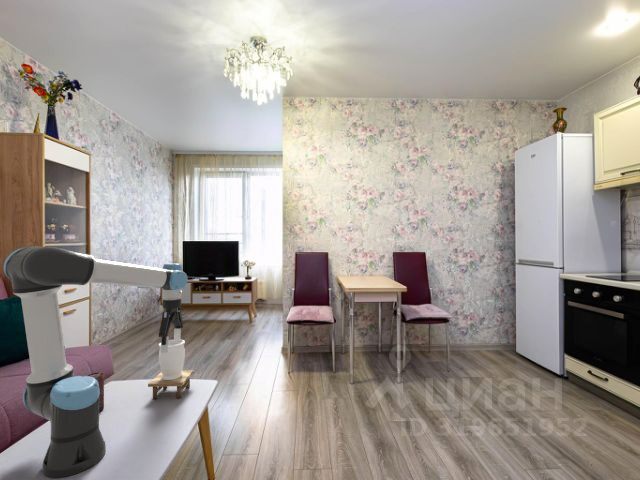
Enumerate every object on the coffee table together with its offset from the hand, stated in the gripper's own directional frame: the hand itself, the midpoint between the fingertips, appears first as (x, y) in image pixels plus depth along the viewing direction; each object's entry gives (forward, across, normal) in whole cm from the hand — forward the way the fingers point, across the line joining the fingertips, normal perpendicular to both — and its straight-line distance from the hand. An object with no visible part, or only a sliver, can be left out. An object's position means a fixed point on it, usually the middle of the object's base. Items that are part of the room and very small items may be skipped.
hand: (171, 347), depth 142 cm
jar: (+13, 0, 0) cm, 13 cm away
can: (+21, -13, +24) cm, 34 cm away
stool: (+20, +1, 0) cm, 20 cm away
